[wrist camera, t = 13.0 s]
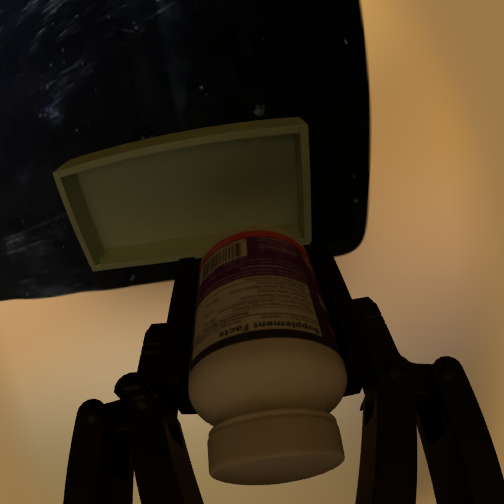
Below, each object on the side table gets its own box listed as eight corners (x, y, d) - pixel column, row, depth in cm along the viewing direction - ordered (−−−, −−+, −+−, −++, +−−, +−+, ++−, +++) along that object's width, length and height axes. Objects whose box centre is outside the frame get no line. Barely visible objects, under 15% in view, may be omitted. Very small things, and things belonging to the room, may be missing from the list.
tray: (299, 116, 21) (308, 124, 19) (304, 225, 27) (311, 244, 24) (68, 159, 22) (52, 173, 19) (103, 252, 27) (92, 271, 25)
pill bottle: (298, 308, 17) (334, 480, 9) (200, 306, 16) (190, 488, 8) (320, 224, 14) (402, 429, 6) (199, 217, 13) (171, 448, 5)
